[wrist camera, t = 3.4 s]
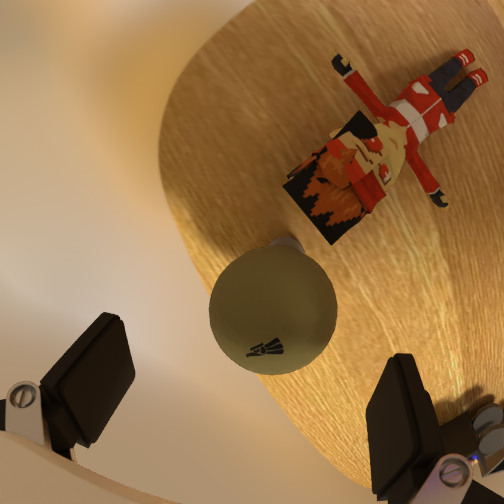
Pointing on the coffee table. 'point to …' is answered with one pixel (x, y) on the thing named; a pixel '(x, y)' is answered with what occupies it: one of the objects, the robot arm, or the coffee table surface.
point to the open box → (494, 461)
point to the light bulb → (273, 309)
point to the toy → (378, 146)
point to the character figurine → (475, 434)
